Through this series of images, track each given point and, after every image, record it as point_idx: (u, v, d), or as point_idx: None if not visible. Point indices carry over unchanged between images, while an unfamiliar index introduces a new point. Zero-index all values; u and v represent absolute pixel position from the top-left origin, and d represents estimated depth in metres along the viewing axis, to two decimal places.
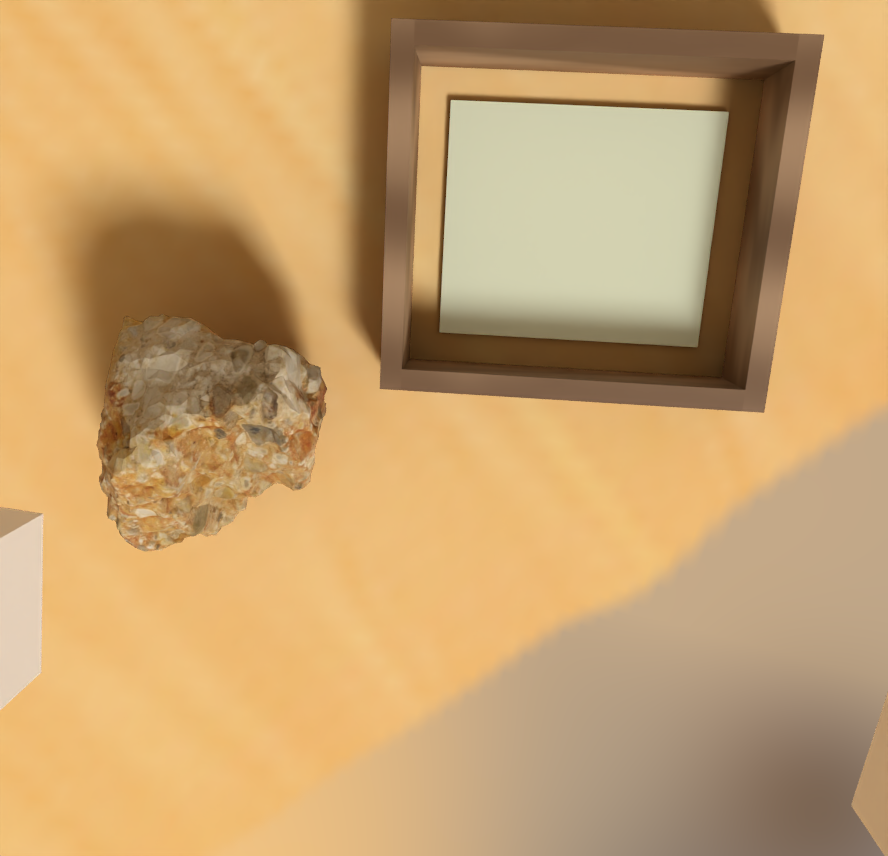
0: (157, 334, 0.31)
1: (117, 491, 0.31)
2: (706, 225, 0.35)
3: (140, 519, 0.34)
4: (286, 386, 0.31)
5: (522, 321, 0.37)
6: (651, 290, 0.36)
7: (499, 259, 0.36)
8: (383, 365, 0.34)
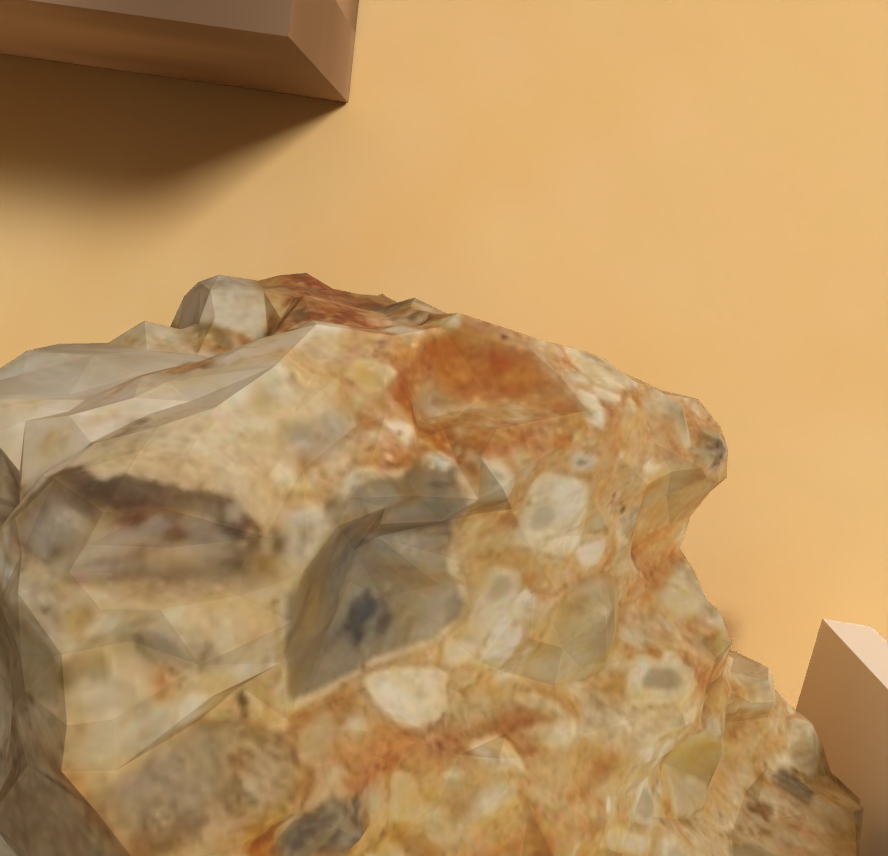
0: None
1: None
2: None
3: None
4: (91, 410, 0.05)
5: None
6: None
7: None
8: (187, 8, 0.08)
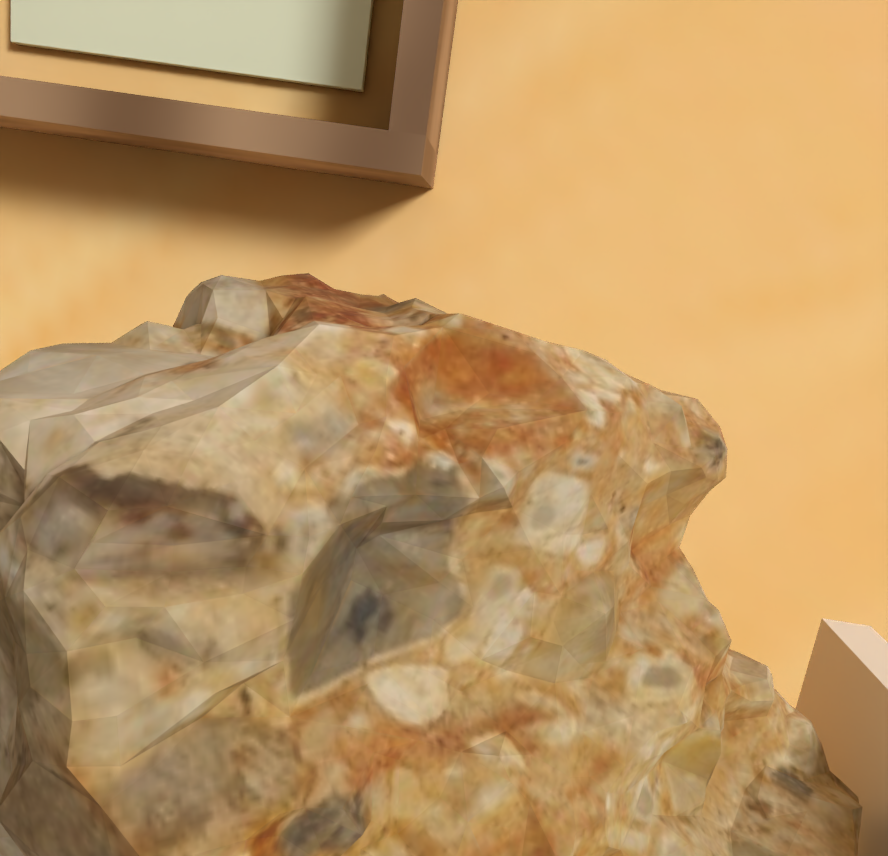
0: None
1: None
2: None
3: None
4: (95, 408, 0.05)
5: None
6: None
7: None
8: (379, 163, 0.19)
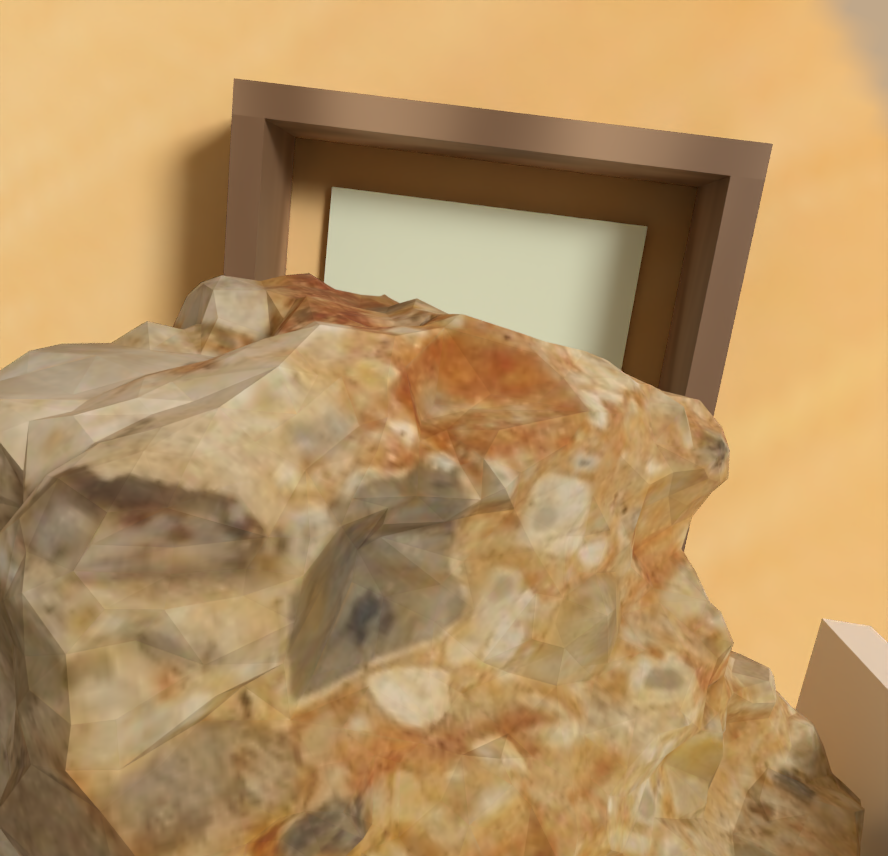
0: None
1: None
2: (476, 215, 0.25)
3: None
4: (94, 408, 0.05)
5: None
6: (558, 292, 0.26)
7: None
8: None
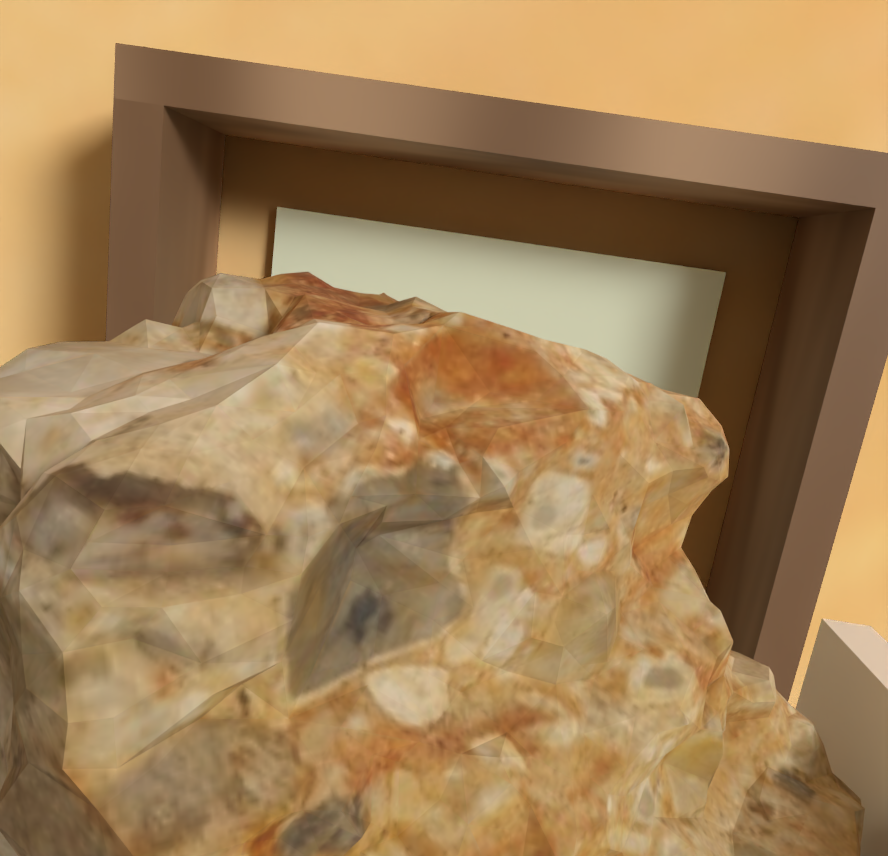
0: None
1: None
2: (482, 251, 0.18)
3: None
4: (92, 407, 0.05)
5: None
6: None
7: None
8: None
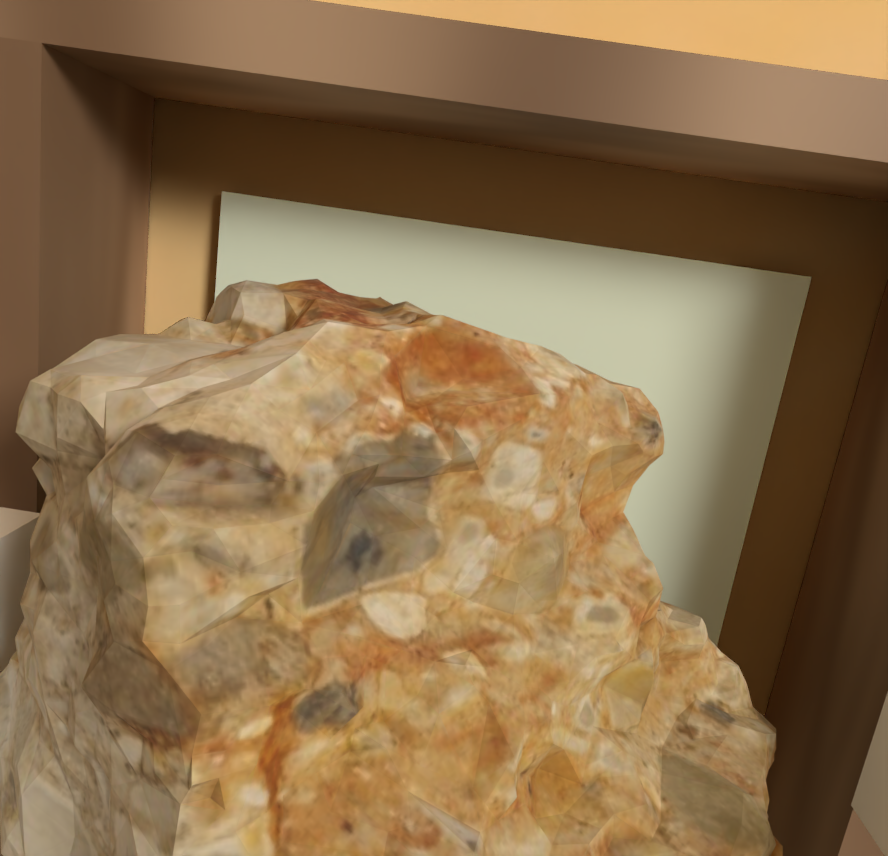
0: None
1: None
2: (489, 249, 0.13)
3: None
4: (157, 382, 0.07)
5: None
6: None
7: None
8: None
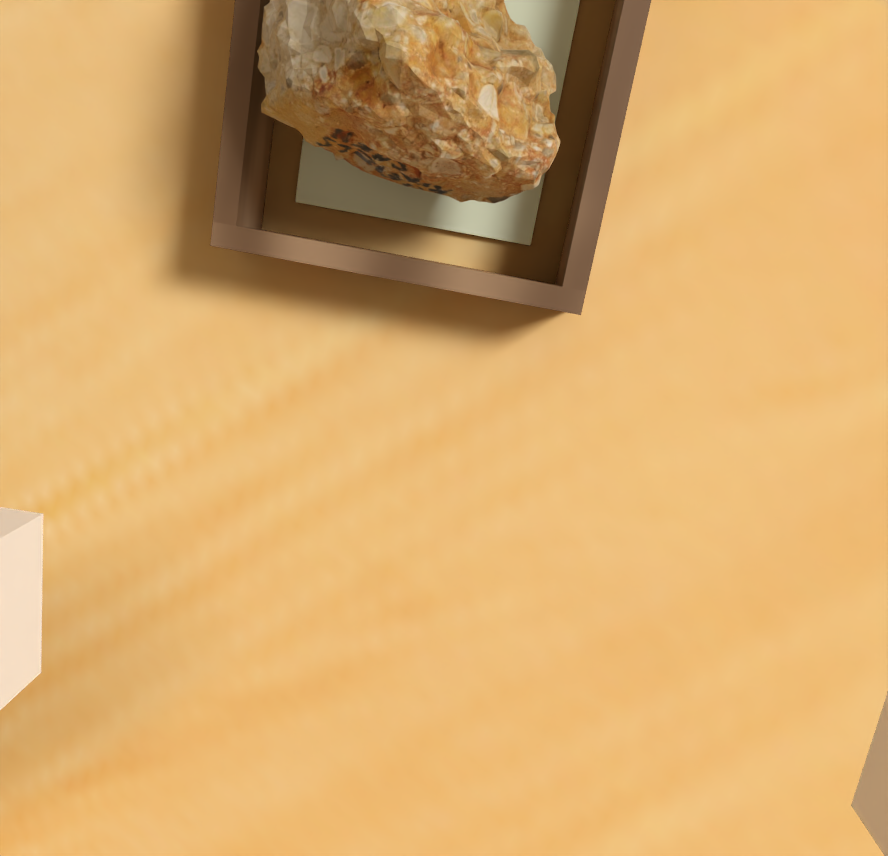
0: (269, 39, 0.26)
1: (439, 91, 0.24)
2: None
3: (502, 124, 0.26)
4: None
5: None
6: None
7: None
8: (554, 306, 0.30)
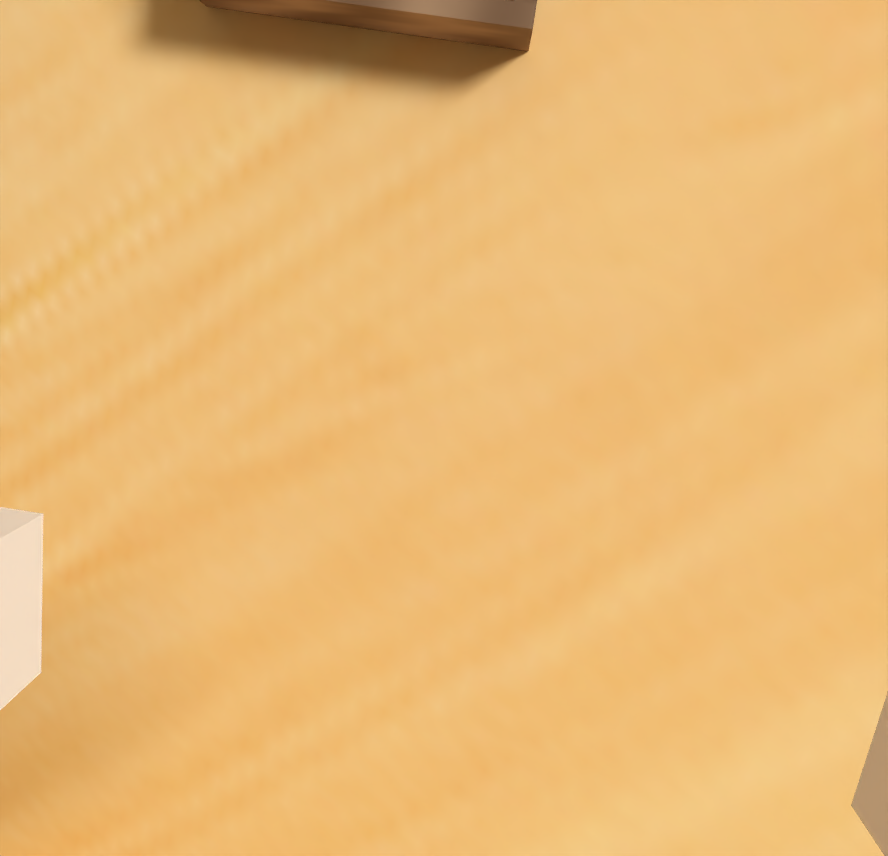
0: None
1: None
2: None
3: None
4: None
5: None
6: None
7: None
8: (507, 21, 0.32)
